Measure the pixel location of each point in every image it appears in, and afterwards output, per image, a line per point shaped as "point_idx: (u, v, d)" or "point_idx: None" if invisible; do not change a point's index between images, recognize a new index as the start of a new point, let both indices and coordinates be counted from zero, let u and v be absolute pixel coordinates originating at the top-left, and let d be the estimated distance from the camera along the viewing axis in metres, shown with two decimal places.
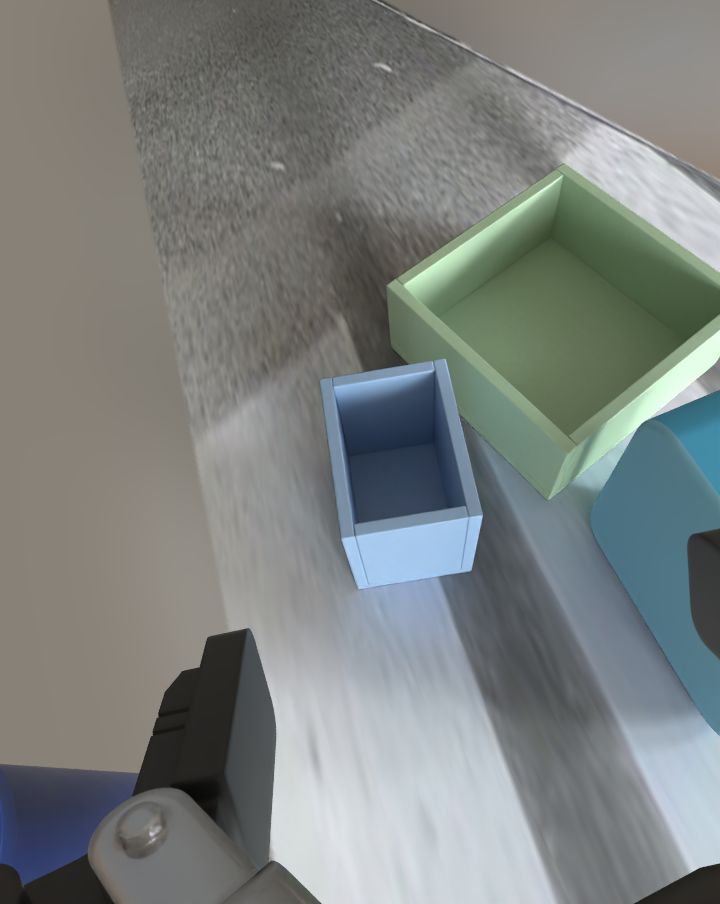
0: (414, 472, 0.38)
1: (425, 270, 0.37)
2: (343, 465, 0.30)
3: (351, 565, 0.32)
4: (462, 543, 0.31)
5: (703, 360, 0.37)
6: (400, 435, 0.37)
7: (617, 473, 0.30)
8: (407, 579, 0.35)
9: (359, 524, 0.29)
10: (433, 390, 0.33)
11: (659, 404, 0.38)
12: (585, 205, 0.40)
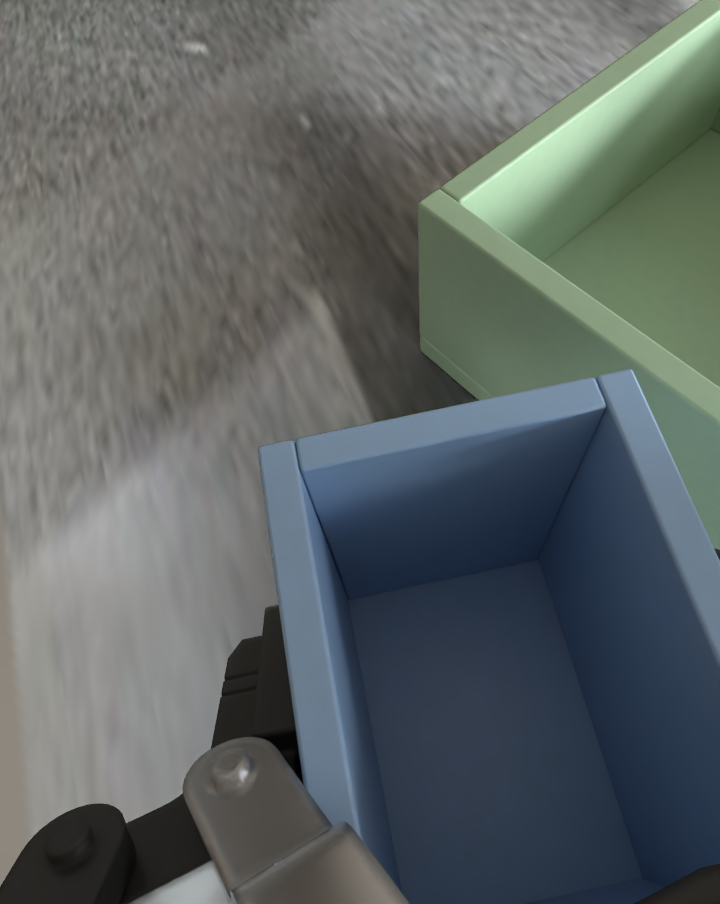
0: (502, 634, 0.16)
1: (506, 167, 0.16)
2: (344, 758, 0.09)
3: None
4: None
5: None
6: (469, 555, 0.16)
7: None
8: None
9: None
10: (582, 458, 0.12)
11: None
12: None
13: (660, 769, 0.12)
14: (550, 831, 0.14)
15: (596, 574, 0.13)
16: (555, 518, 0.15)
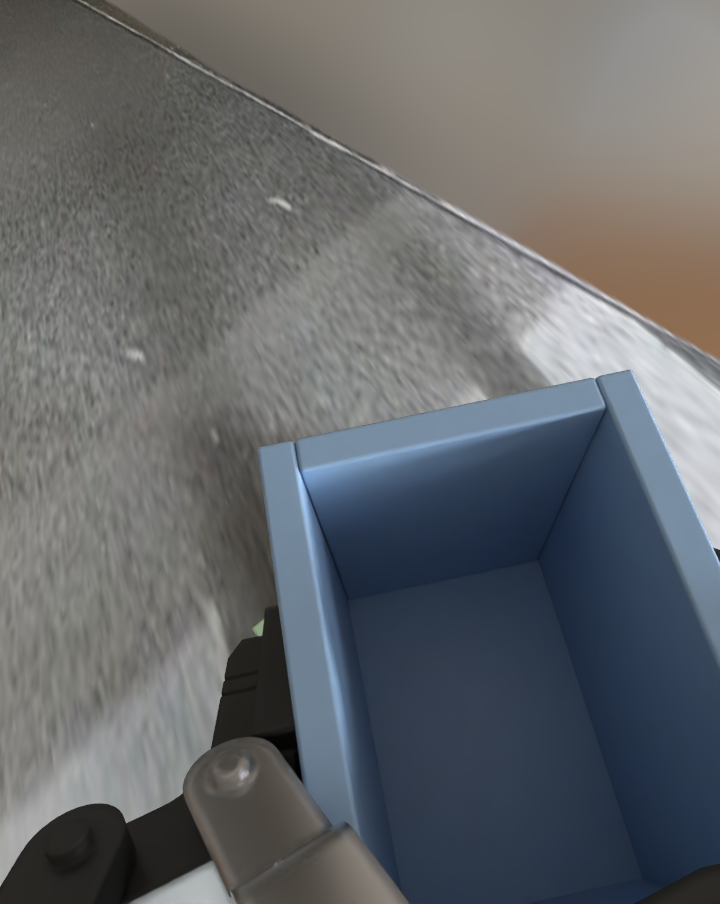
0: (501, 635, 0.16)
1: None
2: (343, 759, 0.09)
3: None
4: None
5: None
6: (469, 556, 0.16)
7: None
8: None
9: None
10: (581, 458, 0.12)
11: None
12: None
13: (660, 770, 0.12)
14: (550, 832, 0.14)
15: (596, 575, 0.13)
16: (555, 519, 0.15)
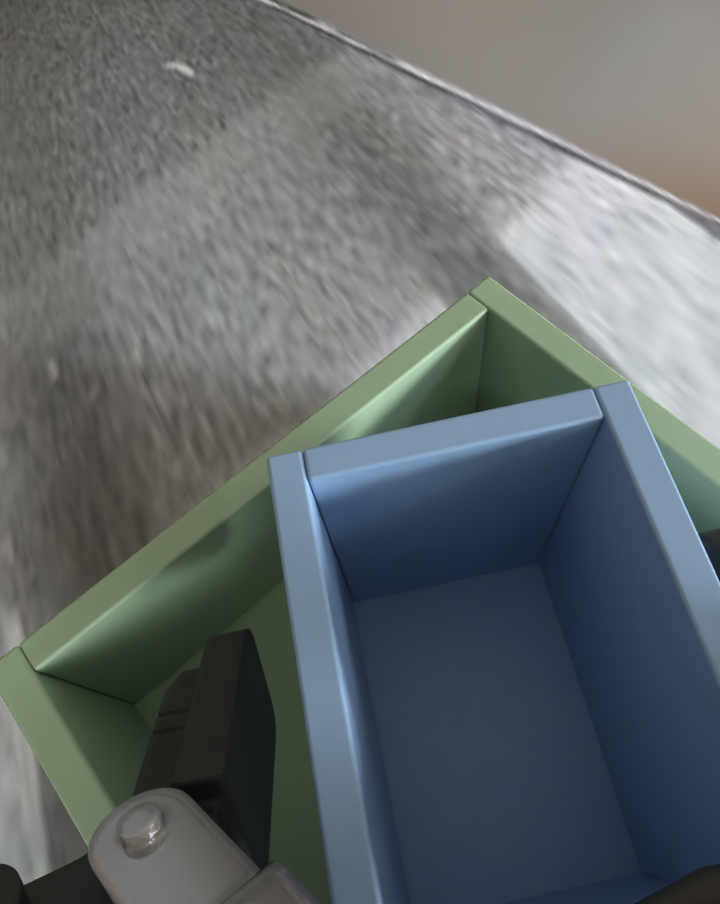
0: (503, 636, 0.17)
1: (104, 614, 0.13)
2: (352, 758, 0.09)
3: None
4: None
5: None
6: (471, 559, 0.16)
7: None
8: None
9: None
10: (580, 465, 0.12)
11: None
12: (546, 382, 0.16)
13: (657, 767, 0.12)
14: (552, 828, 0.15)
15: (595, 578, 0.13)
16: (555, 523, 0.15)
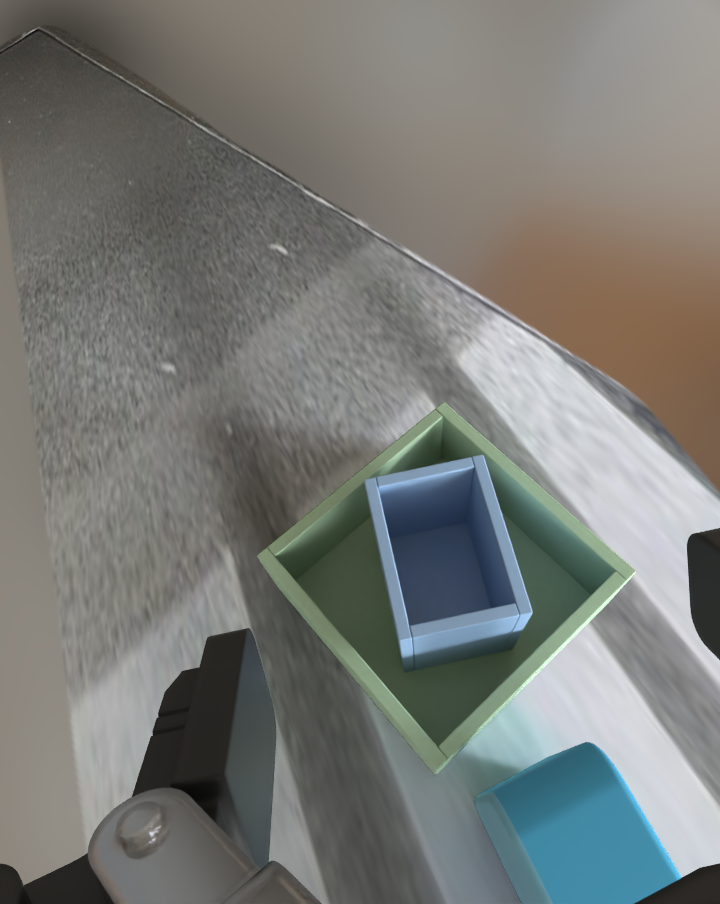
0: (450, 552, 0.39)
1: (298, 536, 0.36)
2: (394, 566, 0.32)
3: (403, 657, 0.33)
4: (509, 632, 0.33)
5: (588, 621, 0.35)
6: (436, 519, 0.39)
7: (483, 806, 0.29)
8: (452, 661, 0.37)
9: (415, 625, 0.30)
10: (471, 482, 0.35)
11: None
12: (466, 446, 0.38)
13: (496, 586, 0.34)
14: None
15: (478, 523, 0.36)
16: (468, 503, 0.38)
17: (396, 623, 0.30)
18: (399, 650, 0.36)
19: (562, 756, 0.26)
